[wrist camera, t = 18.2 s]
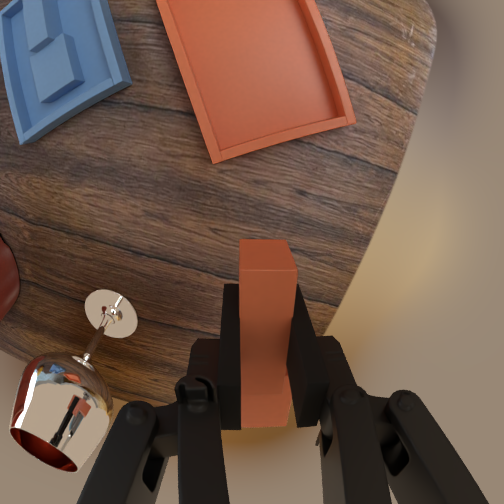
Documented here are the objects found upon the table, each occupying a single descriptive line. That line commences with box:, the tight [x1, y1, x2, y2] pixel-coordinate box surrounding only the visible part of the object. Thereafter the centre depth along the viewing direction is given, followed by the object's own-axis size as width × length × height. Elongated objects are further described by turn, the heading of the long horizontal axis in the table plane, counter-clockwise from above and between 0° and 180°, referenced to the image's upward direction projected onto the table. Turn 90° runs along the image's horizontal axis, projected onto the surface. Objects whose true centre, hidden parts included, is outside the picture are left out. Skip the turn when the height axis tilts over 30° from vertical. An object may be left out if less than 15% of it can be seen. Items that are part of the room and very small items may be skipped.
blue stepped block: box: [22, 0, 85, 103], centre depth 16 cm, size 12×4×3 cm, turn 18°
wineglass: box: [9, 289, 138, 473], centre depth 21 cm, size 8×8×18 cm
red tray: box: [156, 0, 357, 164], centre depth 19 cm, size 12×17×2 cm
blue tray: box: [0, 0, 132, 145], centre depth 17 cm, size 12×17×2 cm
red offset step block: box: [239, 239, 298, 428], centre depth 15 cm, size 12×4×3 cm, turn 178°
